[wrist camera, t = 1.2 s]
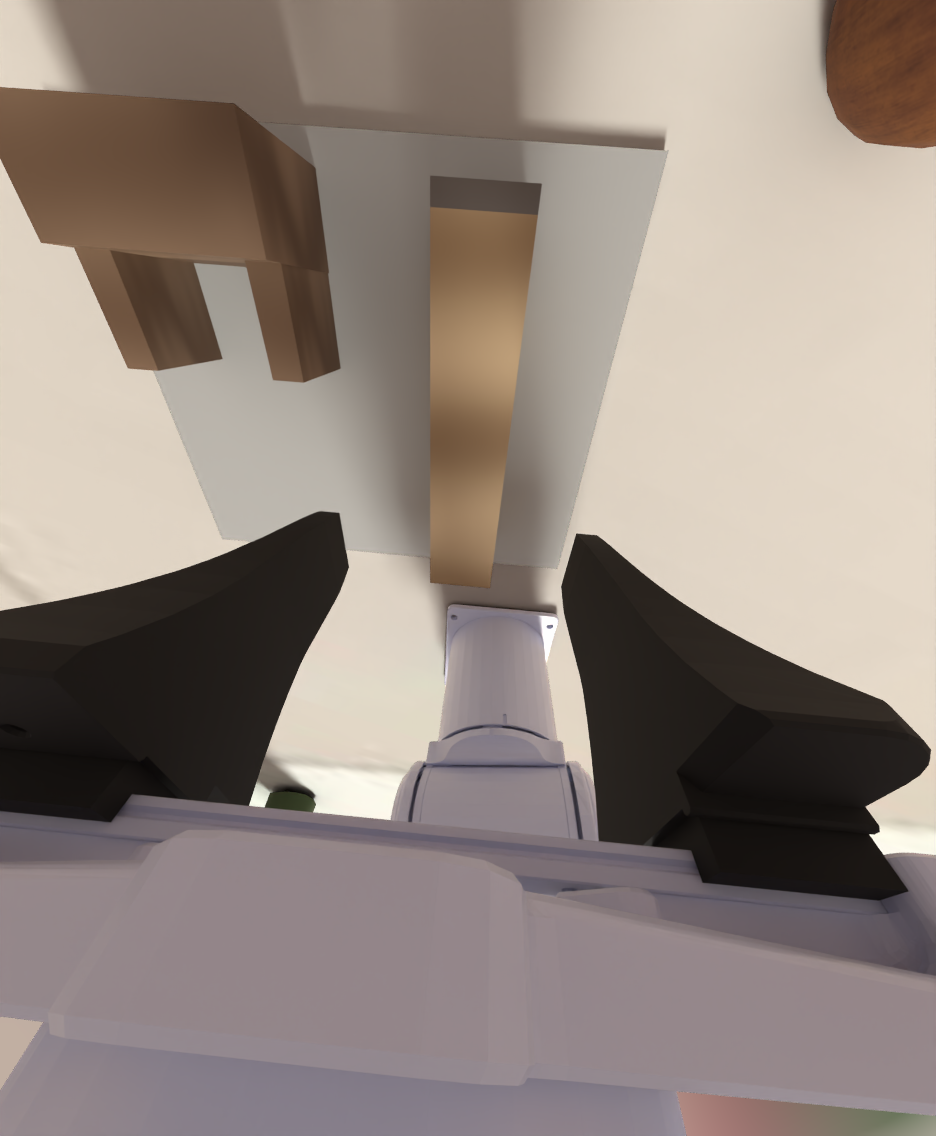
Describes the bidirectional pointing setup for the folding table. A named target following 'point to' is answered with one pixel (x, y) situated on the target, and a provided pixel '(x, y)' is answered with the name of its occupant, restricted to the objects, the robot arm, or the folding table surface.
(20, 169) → the bracket
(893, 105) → the wooden figurine
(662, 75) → the folding table surface
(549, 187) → the mat
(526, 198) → the rail
